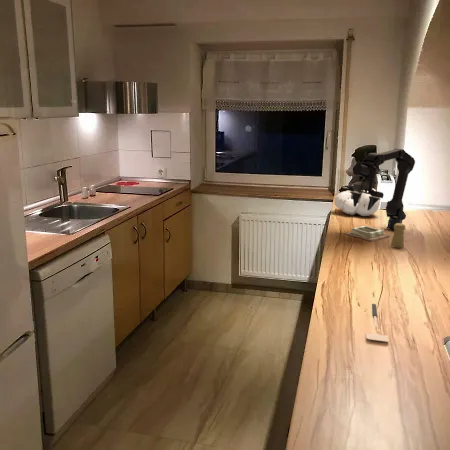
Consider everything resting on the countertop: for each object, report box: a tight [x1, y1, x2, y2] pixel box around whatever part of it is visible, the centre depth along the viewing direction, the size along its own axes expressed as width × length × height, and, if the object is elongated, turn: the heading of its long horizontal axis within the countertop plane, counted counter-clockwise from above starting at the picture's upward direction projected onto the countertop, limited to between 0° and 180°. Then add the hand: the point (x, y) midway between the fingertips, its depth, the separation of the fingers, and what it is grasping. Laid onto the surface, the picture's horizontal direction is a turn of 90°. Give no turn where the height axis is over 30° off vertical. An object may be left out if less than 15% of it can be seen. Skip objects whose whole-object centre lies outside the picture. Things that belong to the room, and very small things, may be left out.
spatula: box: [365, 303, 389, 343], centre depth 157 cm, size 6×29×2 cm, turn 166°
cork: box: [390, 223, 406, 249], centre depth 240 cm, size 6×6×11 cm
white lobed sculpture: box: [334, 188, 381, 217], centre depth 303 cm, size 20×25×22 cm
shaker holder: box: [344, 225, 390, 242], centre depth 258 cm, size 16×16×3 cm
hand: (361, 208), depth 256 cm, fingers open, 9 cm apart
